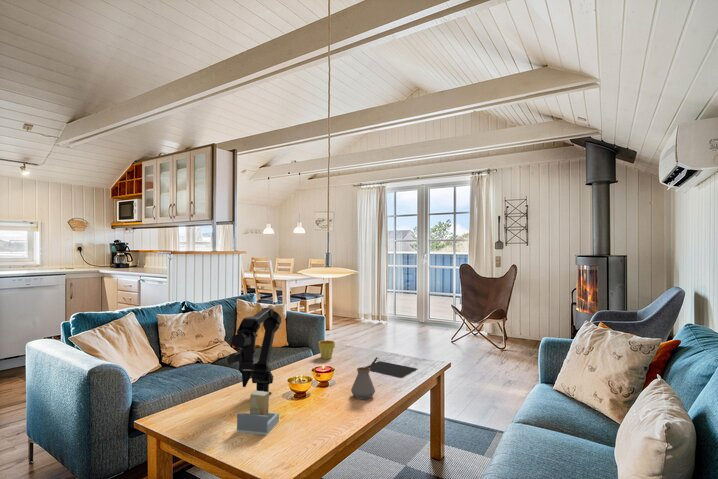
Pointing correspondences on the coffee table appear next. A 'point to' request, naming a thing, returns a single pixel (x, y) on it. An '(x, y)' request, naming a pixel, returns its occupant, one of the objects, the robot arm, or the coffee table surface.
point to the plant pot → (326, 348)
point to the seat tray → (256, 423)
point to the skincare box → (259, 403)
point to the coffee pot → (363, 383)
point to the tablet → (391, 369)
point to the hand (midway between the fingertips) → (243, 385)
